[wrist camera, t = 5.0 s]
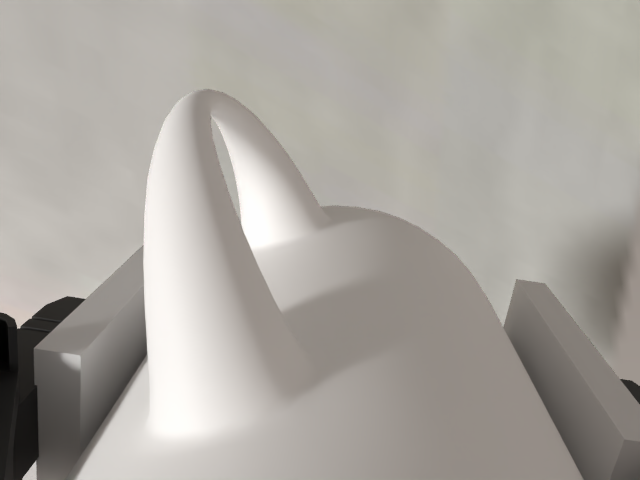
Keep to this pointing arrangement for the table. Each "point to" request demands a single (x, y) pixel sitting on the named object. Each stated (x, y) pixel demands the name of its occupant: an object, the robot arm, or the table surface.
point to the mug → (307, 335)
